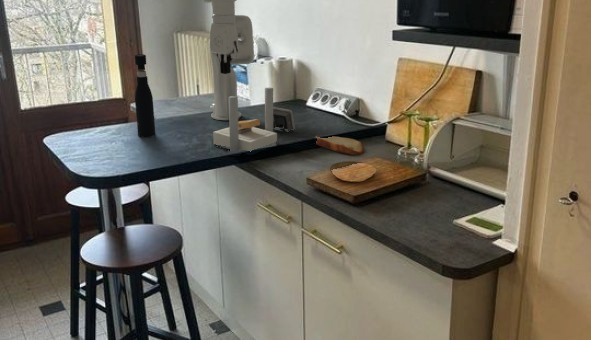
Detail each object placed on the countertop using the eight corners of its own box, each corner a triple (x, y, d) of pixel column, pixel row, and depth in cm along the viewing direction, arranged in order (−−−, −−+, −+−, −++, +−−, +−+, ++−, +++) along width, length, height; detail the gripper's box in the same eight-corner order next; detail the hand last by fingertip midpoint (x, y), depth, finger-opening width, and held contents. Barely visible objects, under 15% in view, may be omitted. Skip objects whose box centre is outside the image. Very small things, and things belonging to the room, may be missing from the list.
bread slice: (312, 140, 214) (313, 130, 212) (360, 141, 213) (361, 131, 212) (312, 155, 197) (313, 145, 196) (365, 157, 197) (365, 146, 195)
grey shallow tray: (213, 145, 205) (213, 128, 203) (240, 136, 215) (240, 120, 213) (250, 156, 195) (249, 138, 192) (276, 146, 205) (277, 129, 203)
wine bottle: (159, 133, 217) (153, 54, 207) (148, 138, 212) (141, 57, 201) (145, 131, 220) (138, 53, 209) (134, 136, 214) (127, 55, 204)
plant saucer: (322, 181, 175) (322, 173, 174) (336, 165, 188) (337, 158, 187) (369, 188, 170) (370, 180, 169) (380, 172, 183) (381, 164, 182)
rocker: (230, 129, 204) (229, 123, 203) (240, 126, 208) (239, 120, 207) (250, 127, 197) (249, 121, 197) (260, 124, 201) (259, 118, 201)
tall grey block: (259, 142, 209) (259, 88, 202) (268, 139, 213) (268, 86, 206) (269, 145, 206) (269, 90, 199) (278, 141, 210) (278, 88, 203)
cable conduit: (224, 154, 196) (222, 97, 189) (234, 150, 200) (233, 94, 193) (234, 157, 193) (233, 99, 186) (244, 153, 197) (243, 97, 190)
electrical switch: (295, 131, 223) (294, 108, 219) (288, 135, 219) (287, 112, 215) (276, 127, 228) (274, 105, 224) (268, 131, 224) (267, 109, 220)
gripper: (200, 18, 197) (203, 71, 203) (231, 22, 188) (233, 77, 194) (216, 17, 202) (218, 69, 209) (247, 20, 193) (248, 74, 200)
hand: (225, 73), depth 201 cm, fingers closed
